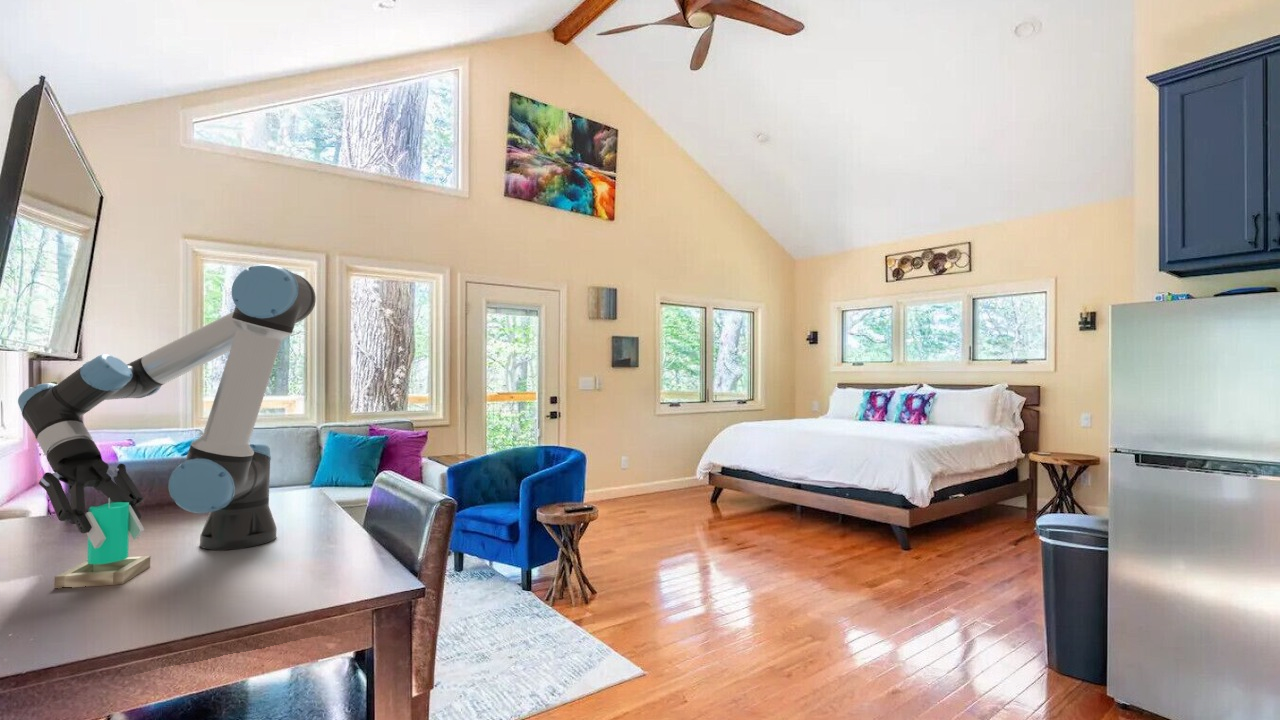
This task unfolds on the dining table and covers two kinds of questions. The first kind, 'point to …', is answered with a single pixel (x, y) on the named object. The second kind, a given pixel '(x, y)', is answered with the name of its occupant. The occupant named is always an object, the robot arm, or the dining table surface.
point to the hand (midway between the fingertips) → (120, 538)
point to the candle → (111, 533)
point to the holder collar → (102, 573)
